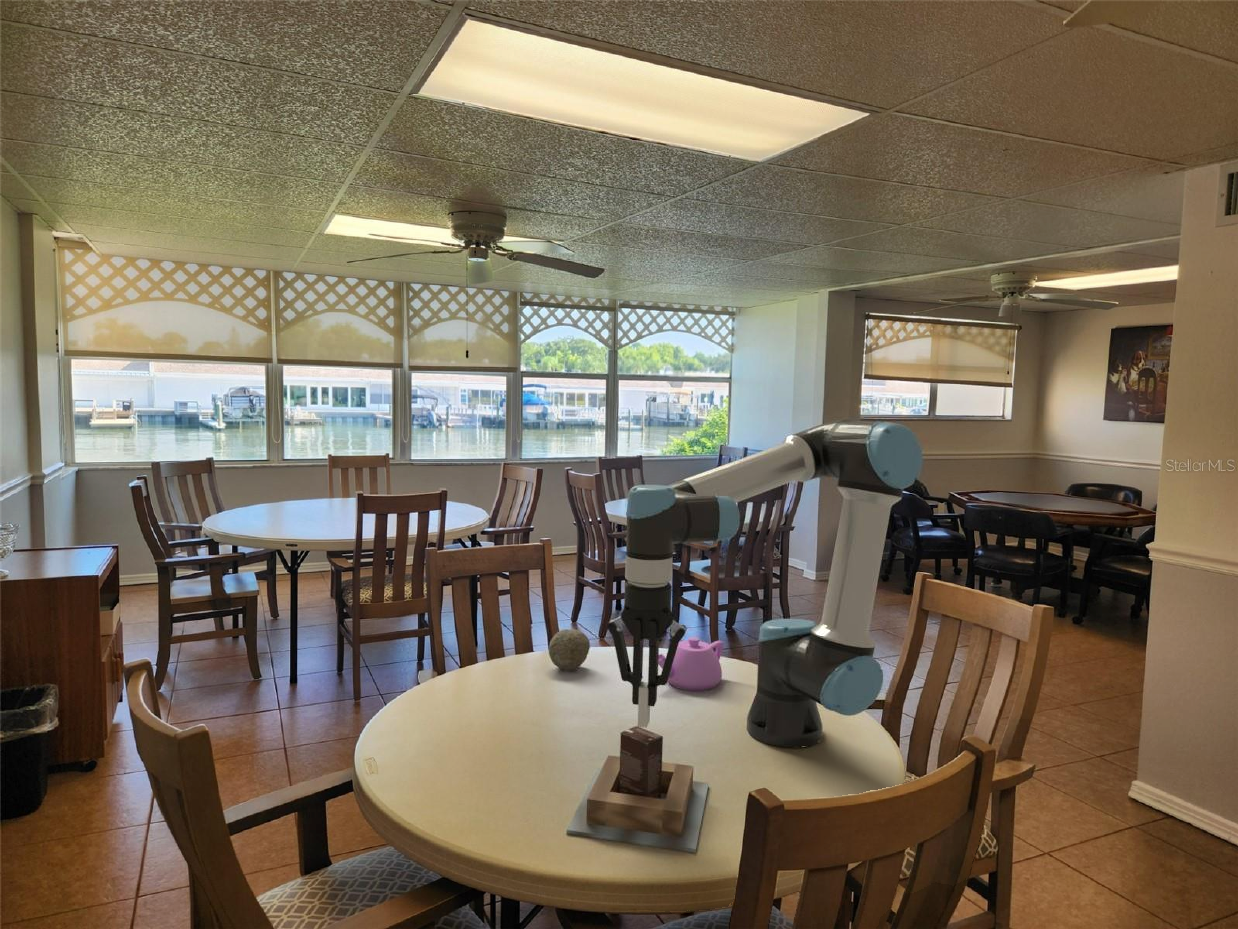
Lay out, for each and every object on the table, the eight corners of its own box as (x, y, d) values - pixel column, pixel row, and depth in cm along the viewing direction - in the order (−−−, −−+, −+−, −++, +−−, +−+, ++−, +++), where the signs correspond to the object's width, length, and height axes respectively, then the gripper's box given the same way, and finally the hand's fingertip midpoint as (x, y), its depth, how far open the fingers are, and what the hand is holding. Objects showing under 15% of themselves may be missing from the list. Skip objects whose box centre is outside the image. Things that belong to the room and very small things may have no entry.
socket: (708, 786, 132) (709, 761, 132) (695, 853, 112) (696, 823, 112) (597, 771, 136) (598, 747, 136) (566, 833, 117) (567, 805, 116)
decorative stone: (554, 678, 181) (555, 637, 180) (544, 666, 189) (545, 627, 188) (594, 673, 185) (595, 633, 184) (582, 661, 193) (583, 623, 192)
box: (662, 806, 124) (664, 735, 123) (644, 817, 121) (646, 744, 120) (634, 792, 128) (636, 724, 127) (616, 802, 125) (618, 732, 124)
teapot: (639, 680, 181) (640, 637, 180) (704, 666, 192) (705, 625, 191) (673, 700, 169) (675, 654, 168) (740, 684, 180) (742, 640, 179)
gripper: (691, 579, 123) (686, 719, 125) (613, 573, 126) (609, 710, 128) (685, 590, 116) (680, 738, 118) (603, 583, 119) (599, 728, 121)
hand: (643, 723), depth 123 cm, fingers closed
